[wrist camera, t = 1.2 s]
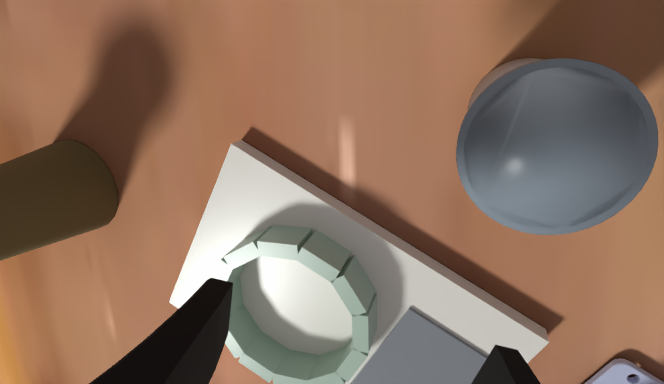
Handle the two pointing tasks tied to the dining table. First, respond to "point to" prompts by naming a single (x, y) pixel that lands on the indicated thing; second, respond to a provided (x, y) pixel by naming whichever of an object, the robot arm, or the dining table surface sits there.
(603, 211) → the tube
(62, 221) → the cork
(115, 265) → the dining table surface
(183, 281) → the white base plate
